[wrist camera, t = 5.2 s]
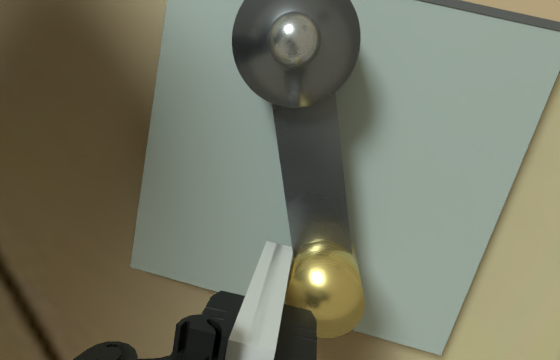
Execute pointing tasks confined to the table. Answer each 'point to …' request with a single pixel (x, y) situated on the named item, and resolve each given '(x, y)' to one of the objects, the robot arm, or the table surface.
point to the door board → (352, 152)
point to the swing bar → (308, 142)
